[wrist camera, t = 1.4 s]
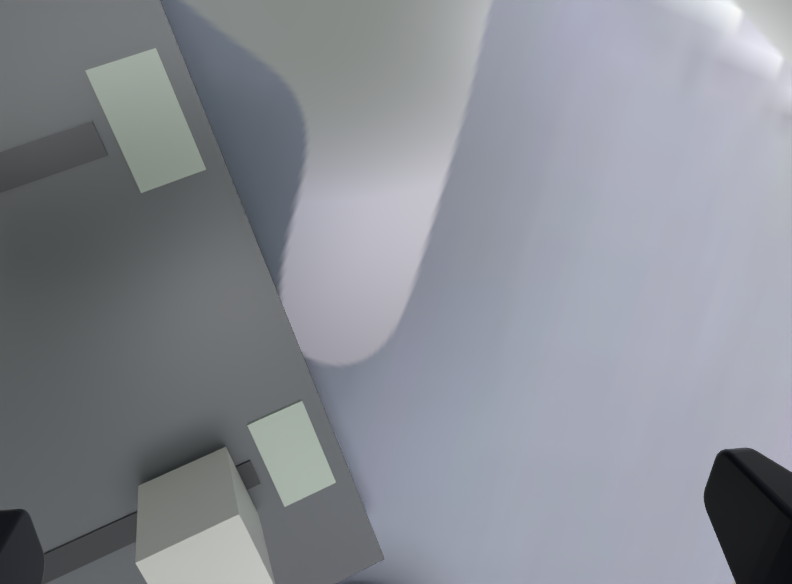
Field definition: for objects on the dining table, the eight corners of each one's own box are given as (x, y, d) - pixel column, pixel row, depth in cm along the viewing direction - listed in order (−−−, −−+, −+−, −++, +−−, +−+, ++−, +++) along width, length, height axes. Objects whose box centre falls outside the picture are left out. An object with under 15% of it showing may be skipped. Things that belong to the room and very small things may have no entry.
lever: (176, 554, 24) (179, 639, 20) (138, 485, 23) (135, 562, 19) (258, 514, 24) (276, 591, 21) (225, 446, 23) (239, 514, 20)
